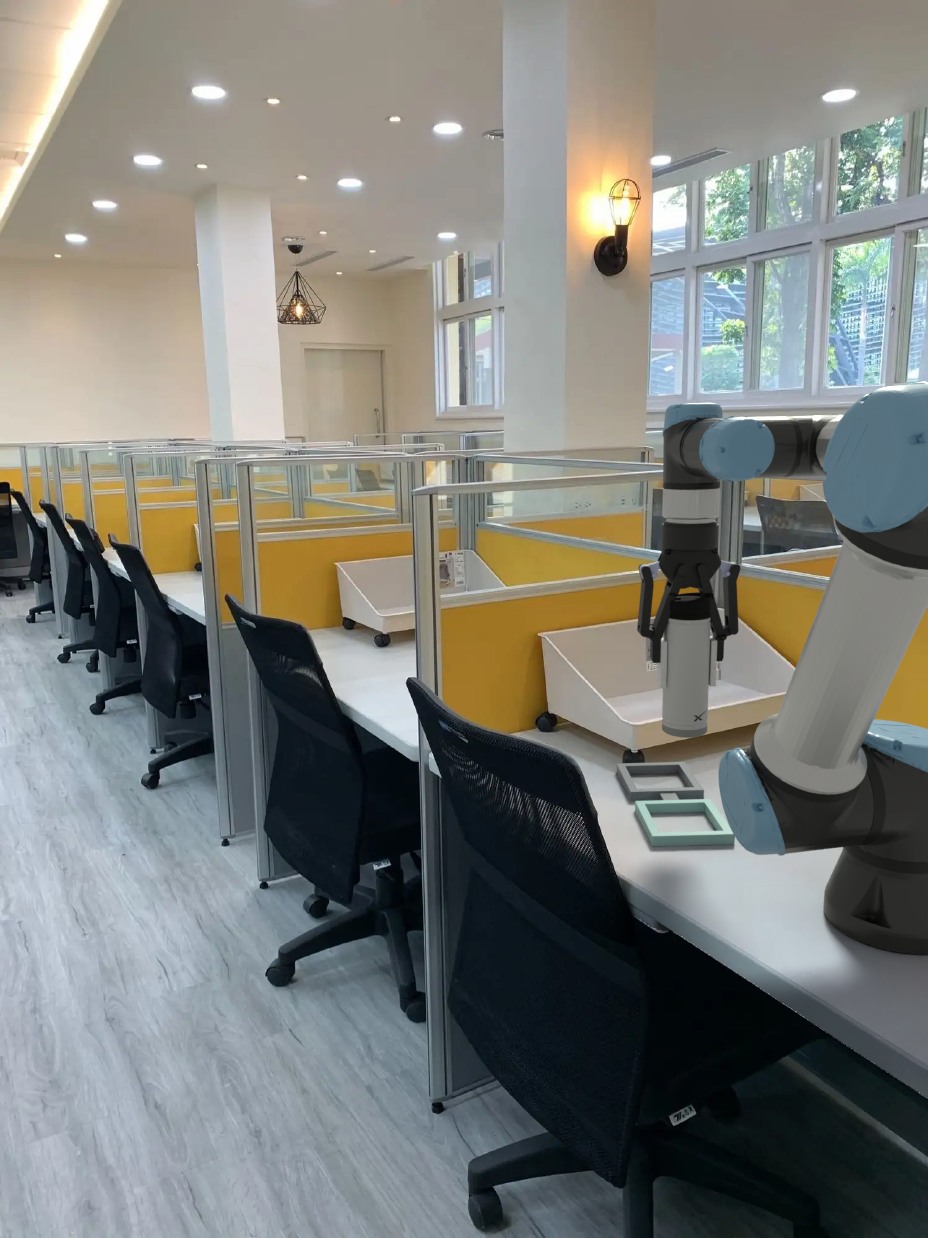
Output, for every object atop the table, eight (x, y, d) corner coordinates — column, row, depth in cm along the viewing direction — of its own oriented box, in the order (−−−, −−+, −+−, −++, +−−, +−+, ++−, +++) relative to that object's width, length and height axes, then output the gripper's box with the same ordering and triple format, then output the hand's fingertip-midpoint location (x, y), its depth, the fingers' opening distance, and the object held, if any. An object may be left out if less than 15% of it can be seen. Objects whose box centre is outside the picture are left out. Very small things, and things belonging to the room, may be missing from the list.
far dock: (710, 808, 140) (710, 799, 140) (635, 810, 140) (635, 801, 140) (684, 770, 156) (684, 761, 156) (616, 772, 156) (616, 763, 156)
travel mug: (710, 739, 128) (715, 596, 124) (662, 737, 129) (665, 596, 125) (708, 725, 134) (712, 588, 130) (661, 723, 135) (664, 588, 131)
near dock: (734, 844, 128) (734, 834, 128) (652, 846, 128) (652, 836, 128) (710, 808, 140) (710, 799, 140) (635, 810, 140) (635, 801, 140)
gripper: (752, 515, 129) (745, 675, 134) (614, 518, 129) (613, 678, 134) (770, 520, 122) (762, 689, 126) (624, 524, 122) (622, 693, 126)
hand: (685, 683), depth 130 cm, fingers closed on travel mug, 6 cm apart
